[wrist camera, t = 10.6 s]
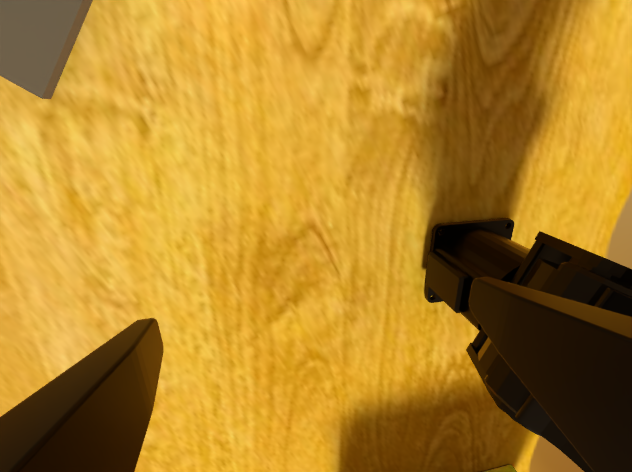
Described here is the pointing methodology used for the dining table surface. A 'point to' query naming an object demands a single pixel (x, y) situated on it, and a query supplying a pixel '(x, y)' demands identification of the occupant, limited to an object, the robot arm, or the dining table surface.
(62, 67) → the coaster
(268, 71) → the dining table surface
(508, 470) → the snack box
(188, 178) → the dining table surface
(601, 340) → the robot arm
